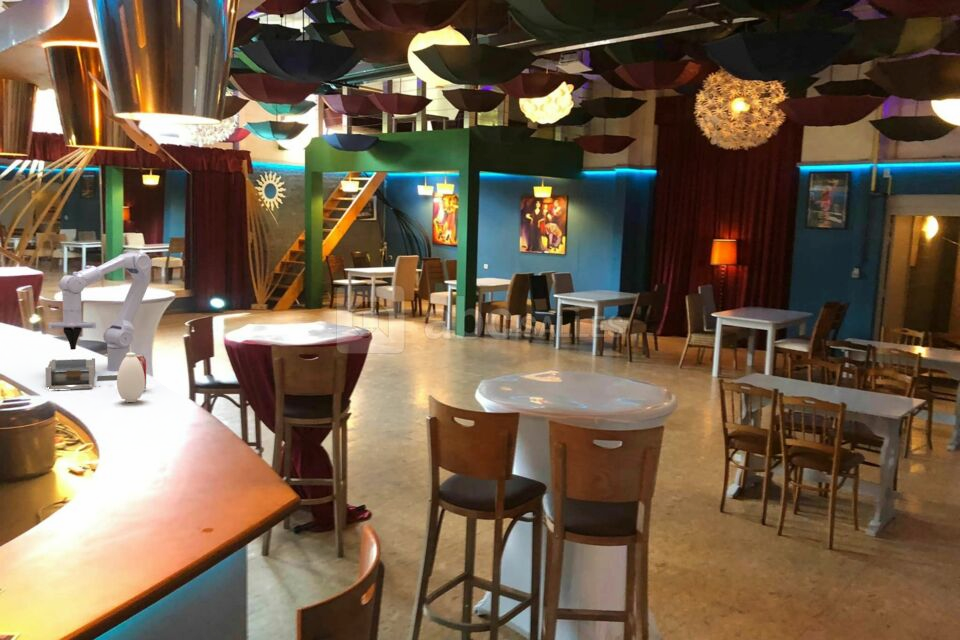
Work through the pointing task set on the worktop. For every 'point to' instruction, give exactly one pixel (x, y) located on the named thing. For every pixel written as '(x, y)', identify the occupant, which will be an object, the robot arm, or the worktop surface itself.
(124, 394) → the egg-shaped bottle
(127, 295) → the robot arm
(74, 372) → the module
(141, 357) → the soda can
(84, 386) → the rod
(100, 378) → the mat
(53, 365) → the lid
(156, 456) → the worktop surface
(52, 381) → the case
